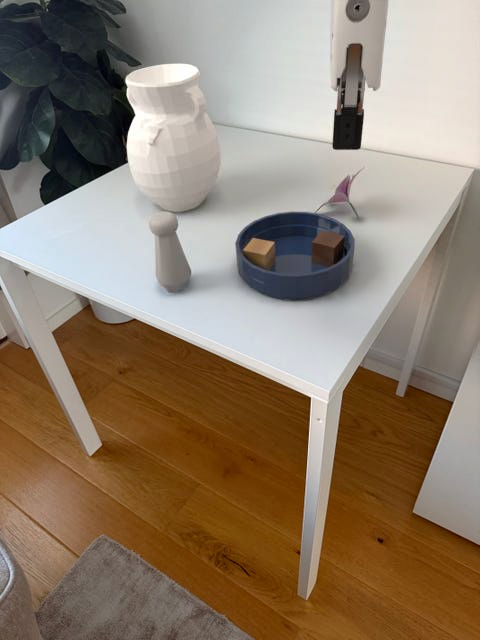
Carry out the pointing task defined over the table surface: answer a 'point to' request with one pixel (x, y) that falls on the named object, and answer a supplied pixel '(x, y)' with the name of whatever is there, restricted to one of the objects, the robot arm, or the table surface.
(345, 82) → the robot arm
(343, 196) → the lily
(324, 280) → the bowl
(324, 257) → the walnut block
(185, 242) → the table surface
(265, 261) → the maple block
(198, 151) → the white vase
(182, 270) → the salt shaker
